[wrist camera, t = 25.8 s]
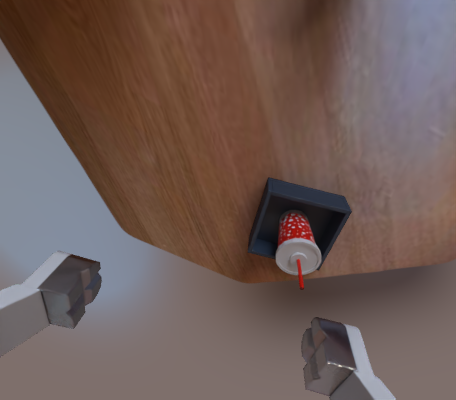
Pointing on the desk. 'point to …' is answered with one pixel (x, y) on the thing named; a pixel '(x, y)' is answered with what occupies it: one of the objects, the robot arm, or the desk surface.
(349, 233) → the desk surface
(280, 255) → the beverage cup
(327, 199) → the tote
